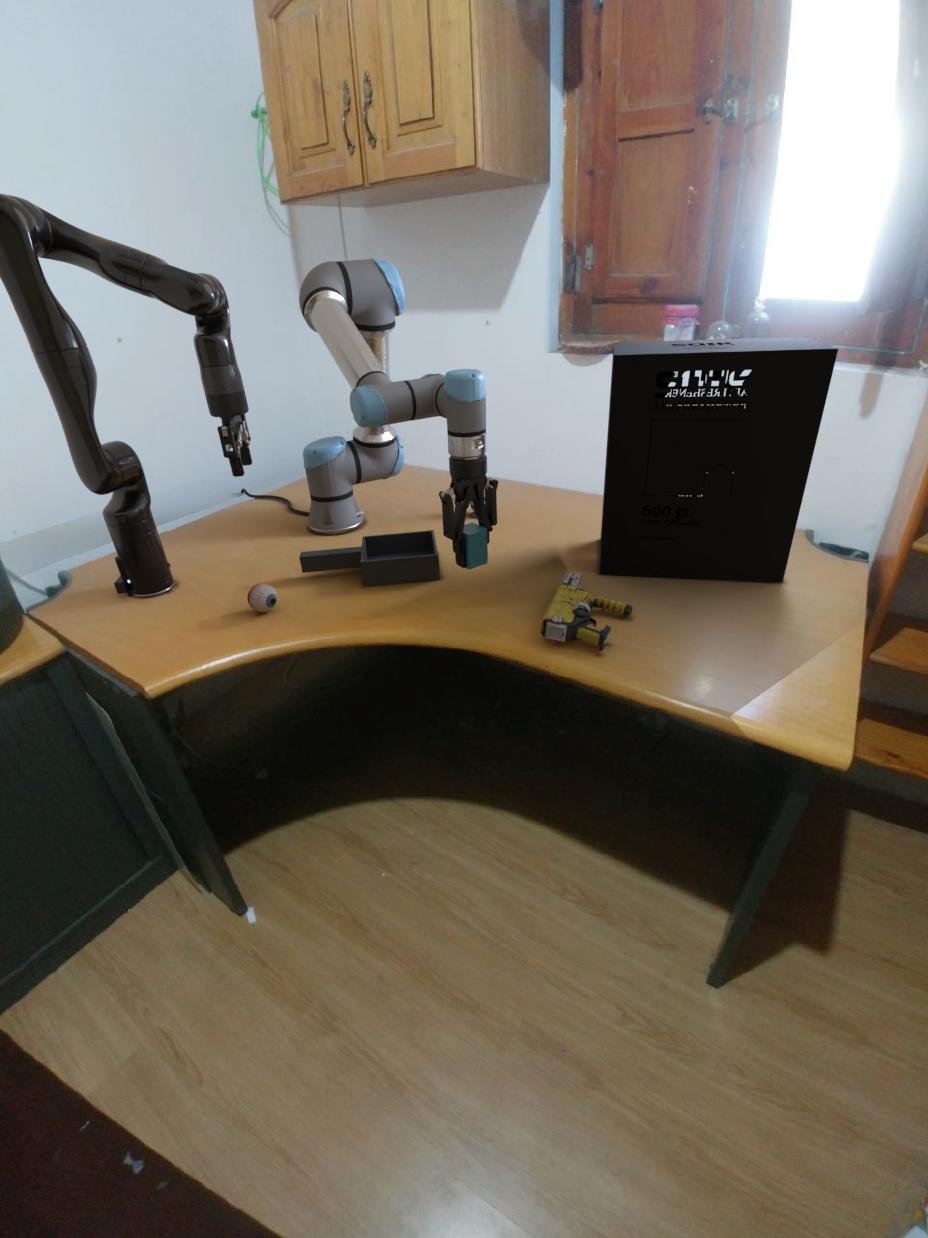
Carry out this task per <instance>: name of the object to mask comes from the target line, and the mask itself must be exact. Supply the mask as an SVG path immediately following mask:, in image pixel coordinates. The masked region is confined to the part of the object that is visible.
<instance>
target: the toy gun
mask: <svg viewBox="0 0 928 1238" xmlns="http://www.w3.org/2000/svg"><path fill="white" fill-rule="evenodd" d="M573 573H574V572H573V570H568V571H566V573H565V576H564V578H563V580H562V581H561V583H560V584H559V585H558V588H557V590H556V591H555V592H554V593H555V594H554V595H553V597H552V599H551V602H550V603H549V605H548V608H547V610H546V611H545V614H544V616H543V618H542V620H541V626H540V635H541V637H542V638H544V639H547V640H548V642H549V643H552V642H553V643H554V644H558V643H559V642H561V643H570V642H574V641H575V640H577V639H579V640H581V641H584V642H588V643H591V644H593V645H595V646H598V651H600V652H603V651H604V649H605V648H606V646H607V645H608V644H609V641H610V636H611V631H612V627H611V626H609V625H608V624H606V625H605V626H604V627H603V629H602V628H600V627H597V625H598V623H597V620H596V619H595V618H593V617H592V614H591V611H592V610H593V609H594V608H596V609H601V610H602V611H607V612H608V613H613V614H614V615H620V616H621V617H624V618H630V616H631V614H632V612H633V606H632V605H631V604H627V603H621V602H620V601H617V602H616V601H615V600H613V599H612V600H610V599H609V598H604V597H602V596H599V595H598V596H596V598H594V600H593V598H592V596H591V594H590V593H589V592H586V591H582V590H580V588H581V583H582V578H583V576H582V573H581V572H578V571H577V572H576V573H575V574H573ZM572 576H573V578H572Z"/></svg>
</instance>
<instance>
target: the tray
mask: <svg viewBox="0 0 928 1238" xmlns="http://www.w3.org/2000/svg"><path fill="white" fill-rule="evenodd" d="M361 539H362V540H361V545H360V546H352V547H350V546H349V547H340V548H332V549H331V548H330V549H318V550H308V551H300V553H299V563H300V569H301V573H302V574H306V573H317V572H326V571H328V572H329V571H339V570H348V569H349V570H350V569H359V568H360V570H361V576H362V583H363V587H374V586H384V585H393V584H394V585H395V584H405V583H414V582H424V581H435V580H440V579H441V572H440V571H441V570H440V561H439V560H440V559H439V558H440V557H439V552H438V546H437V541H436V536H435V531H434V529H429V530H428V529H427V530H419V531H409V532H408V531H406V532H397V533H386V534H374V535H365V536H363V535H362V538H361Z"/></svg>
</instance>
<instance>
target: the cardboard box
mask: <svg viewBox="0 0 928 1238" xmlns="http://www.w3.org/2000/svg"><path fill="white" fill-rule="evenodd" d="M612 347H613V348H612V363H611V375H610V376H611V377H610V393H609V407H608V423H607V437H606V452H605V469H604V482H603V495H602V497H603V498H602V514H601V525H600V526H601V527H600V545H599V570H598V571H599V575H612V576H632V577H633V576H634V577H635V576H637V577H659V578H679V579H680V578H682V579H701V580H702V579H703V580H729V581H754V582H772V583H773V582H774V583H775V582H776V583H783V582H784V579H785V574H786V570H787V567H788V563H789V557H790V553H791V549H792V545H793V541H794V537H795V536H794V535H795V532H796V527H797V524H798V519H799V515H800V511H801V506H802V503H803V500H804V499H803V498H804V495H805V490H806V486H807V483H808V477H809V474H810V469H811V466H812V465H811V464H812V460H813V456H814V453H815V448H816V444H817V439H818V436H819V431H820V428H821V423H822V419H823V415H824V411H825V406H826V403H827V398H828V394H829V391H830V386H831V382H832V377H833V373H834V370H835V364H836V360H837V357H838V353H839V348H838V347H835V346H832V345H830V344H827V343H825V342H822V341H819V340H816V339H815V338H811V337H809V336H805V335H804V336H780V337H779V336H775V337H774V336H773V337H749V338H748V337H747V338H745V337H744V338H743V337H742V338H721V339H720V338H717V339H716V338H715V339H689V340H688V339H687V340H684V339H683V340H656V341H655V340H653V341H625V342H624V341H623V342H621V341H620V342H613V346H612ZM696 371H697V372H701V373H700V376H699V375H696ZM745 371H750V372H749V373H748V374H747V375H742V374H743V372H745ZM676 372H677V375H676ZM686 372H689V373H688V381H687V385H683V382H684V381H683V380H684V376H683V375H684V374H685V373H686ZM711 372H712V373H711ZM732 373H733V378H732V381H733V382H739V381H742V382H741V385H740V384H739V385H736V384H735V385H732V384H731V383H730V378H731V374H732ZM711 374H712V375H711ZM700 382H702V385H700ZM713 382H718V385H712V384H713ZM671 383H675V385H674V386H673V385H671V386H670V384H671Z"/></svg>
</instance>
